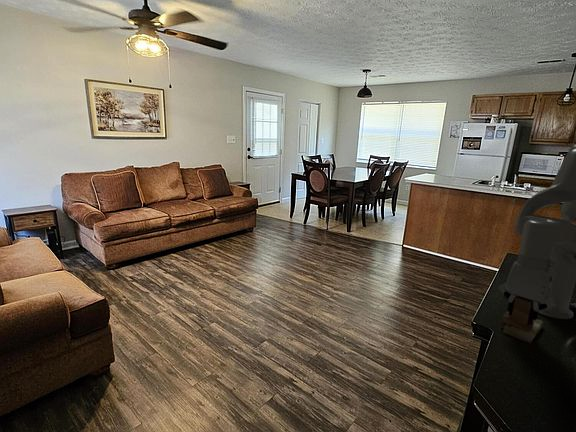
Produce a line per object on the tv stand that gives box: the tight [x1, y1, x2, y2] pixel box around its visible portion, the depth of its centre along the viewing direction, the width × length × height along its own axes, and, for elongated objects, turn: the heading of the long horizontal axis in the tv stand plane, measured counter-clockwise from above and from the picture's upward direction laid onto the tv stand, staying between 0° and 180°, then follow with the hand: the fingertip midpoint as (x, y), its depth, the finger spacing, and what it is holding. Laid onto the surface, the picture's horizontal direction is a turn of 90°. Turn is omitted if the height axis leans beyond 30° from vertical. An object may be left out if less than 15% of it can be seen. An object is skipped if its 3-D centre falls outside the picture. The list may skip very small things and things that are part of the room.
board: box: [502, 318, 544, 344], centre depth 100 cm, size 14×7×2 cm, turn 130°
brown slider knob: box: [500, 296, 534, 332], centre depth 97 cm, size 4×7×11 cm, turn 40°
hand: (521, 316), depth 97 cm, fingers open, 4 cm apart
